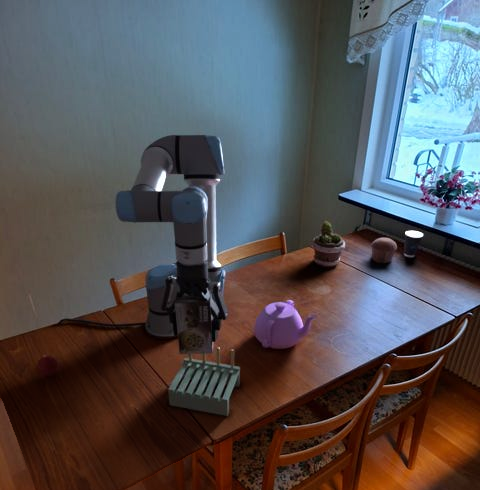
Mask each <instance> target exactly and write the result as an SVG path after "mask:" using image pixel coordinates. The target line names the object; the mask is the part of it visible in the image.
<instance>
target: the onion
mask: <svg viewBox="0 0 480 490" xmlns="http://www.w3.org/2000/svg"><path fill="white" fill-rule="evenodd" d="M36 368H37V371H38V372H39V374H41V375H43V376H47V377H52V376H53V375H55V374H56V373H57V371H58V369H59V362H58V360H57V359H56V358H55V357H53V356H51V355H46V354H42V355H41V357H40V358H39V359H38V361H37V364H36Z"/></svg>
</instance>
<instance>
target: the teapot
mask: <svg viewBox="0 0 480 490" xmlns="http://www.w3.org/2000/svg"><path fill="white" fill-rule="evenodd" d="M316 318H318V315H316V314H310V315H308V316H307V317H306V319H305V320H304V323H303V320H302V318H301V316H300V313H298V311H297V310H296V308H295V302H294V301H293V300H291V299H286V300H285V302H282V301H278V302H277V301H276V302H271V303H269V304H267V305H266V306H265V307H264V308H263V310H262V311H261V312H260V313H259V315H258V316H257V317H256V319H255V322H254V326H253V334H254V336H255V338H256V339H257V340H258V341H259V342H260V343H261V345H262V347H263V348H271V349H276V350H284V349H289V348H292V347H294V346H295V345H297V344H298V343H299V342H300V341H302V339H303V338H305V337H307V335H308V334H309V333H310V330H311V324H312V321H313V320H314V319H316Z"/></svg>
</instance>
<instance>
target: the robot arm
mask: <svg viewBox="0 0 480 490" xmlns="http://www.w3.org/2000/svg"><path fill="white" fill-rule="evenodd" d="M142 152H143V153H142V154H141V157H140V169H139V170H138V173H137V175H136V177H135V180H134V182H133V185H132V187H131V189H130V190H129V189H126V190H120V191H118V192H117V193H116V195H115V211H116V216H117V218H118V220H119V221H121V222H123V223H133V224H136V223H172V224H173V225H172V226H173V233H174V234H173V235H174V248H175V249H174V250H175V260H176V262H175V264H174V263H162V264H158V265H156V266H154V267H152V268H150V269H149V270H148V271H147V272H146V274H145V290H146V295H147V296H146V298H147V305H148V312H147V317H146V321H144V322H143V321H142V322H131V323H106V322H100V321H93V320H87V319H81V318H69V317H68V318H62V319H60V320H58V322H57V324H62V323H63V322H76V323H84V324H90V325H91V324H92V325H97V326H103V327H115V328H117V327H136V326H145V331H146V333H147V334H148V336H150V337H151V338H153V339H158V340H172V339H176V338H178V331H177V321H176V311H175V299H176V294H177V291H180V292H179V294H178V297H183V295H184V294H185V293H186V295H194V296H199V297H200V299H201V300H206V301H208V300H209V297H210V294H209V291H208V290H211V314H212V342H213V343H216V341H217V340H218V338H219V331H220V330H221V328H222V320H223V321H225V320H227V318H228V316H229V310H228V308H227V304H226V301H225V298H224V287H225V279H226V270H224V269H222V264H221V263H220V262H219V261H218V259H217V199H216V198H217V196H216V195H217V194H216V192H217V190H216V189H217V185H218V184H219V183H220V182H221V176H223V175H225V174H226V173H225V172H226V171H225V166H224V165H225V164H224V157H223V150H222V142H221V139H220V138H219V137H218V136H217V135H211V134H187V135H186V134H170V135H166V136H163V137H160V138H158V139H156V140H155V141H153V142H151V143H150V144H149V145H148V146H146V148H145V149H144V151H142ZM169 175H183V182H185V183H186V184H187V187H185V188H184V189H183V190H163V189H164V187H165V183H166V179H167V177H168V176H169Z"/></svg>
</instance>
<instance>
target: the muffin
mask: <svg viewBox="0 0 480 490" xmlns="http://www.w3.org/2000/svg"><path fill="white" fill-rule="evenodd" d="M370 246H371V259H372V261H373V262H376V263H380V264H387V263H388V264H389V263H390V262H391V261H392V260H393V258H394V254H395V252H396V250H398V246H397V243H396V242H395V241H394V240H393V239H391V238H389V237H379V238H376V239H375V240H373V242H372V243H371V245H370Z"/></svg>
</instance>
